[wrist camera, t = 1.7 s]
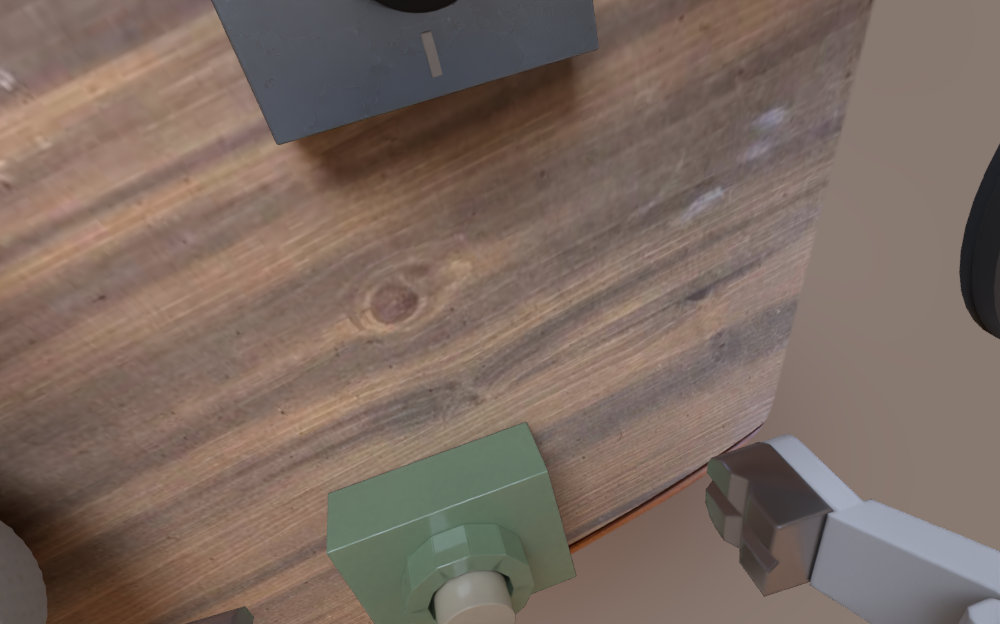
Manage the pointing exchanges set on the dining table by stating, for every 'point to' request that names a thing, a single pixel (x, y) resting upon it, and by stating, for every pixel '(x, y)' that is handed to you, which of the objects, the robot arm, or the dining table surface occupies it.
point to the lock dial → (413, 5)
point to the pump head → (474, 599)
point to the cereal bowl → (20, 582)
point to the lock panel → (389, 53)
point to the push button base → (450, 527)
